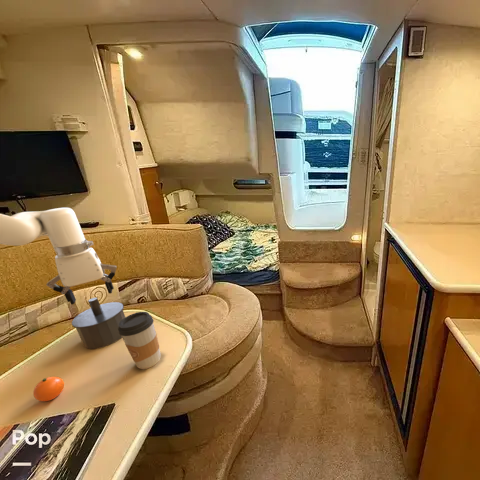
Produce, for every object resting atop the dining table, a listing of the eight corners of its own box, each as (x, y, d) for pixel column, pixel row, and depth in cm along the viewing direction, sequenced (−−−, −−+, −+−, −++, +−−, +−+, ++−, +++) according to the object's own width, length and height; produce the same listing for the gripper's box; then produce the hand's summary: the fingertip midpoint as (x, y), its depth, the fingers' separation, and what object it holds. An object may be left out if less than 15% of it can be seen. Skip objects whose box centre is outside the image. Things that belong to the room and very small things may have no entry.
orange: (32, 409, 67) (22, 391, 65) (48, 390, 72) (39, 373, 70) (59, 403, 68) (49, 385, 66) (72, 385, 73) (64, 368, 71)
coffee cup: (126, 368, 78) (108, 326, 72) (151, 348, 85) (137, 308, 80) (146, 375, 75) (130, 331, 70) (171, 354, 82) (158, 313, 77)
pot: (85, 355, 84) (75, 332, 81) (82, 336, 93) (73, 316, 90) (132, 334, 92) (124, 314, 89) (125, 319, 101) (118, 300, 98)
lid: (73, 336, 81) (65, 317, 78) (72, 317, 90) (64, 300, 88) (127, 315, 89) (121, 298, 87) (120, 300, 99) (114, 284, 97)
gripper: (107, 238, 89) (124, 283, 95) (37, 252, 80) (60, 301, 86) (105, 244, 83) (124, 292, 89) (29, 260, 74) (55, 312, 80)
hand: (92, 296), depth 87 cm, fingers open, 9 cm apart
